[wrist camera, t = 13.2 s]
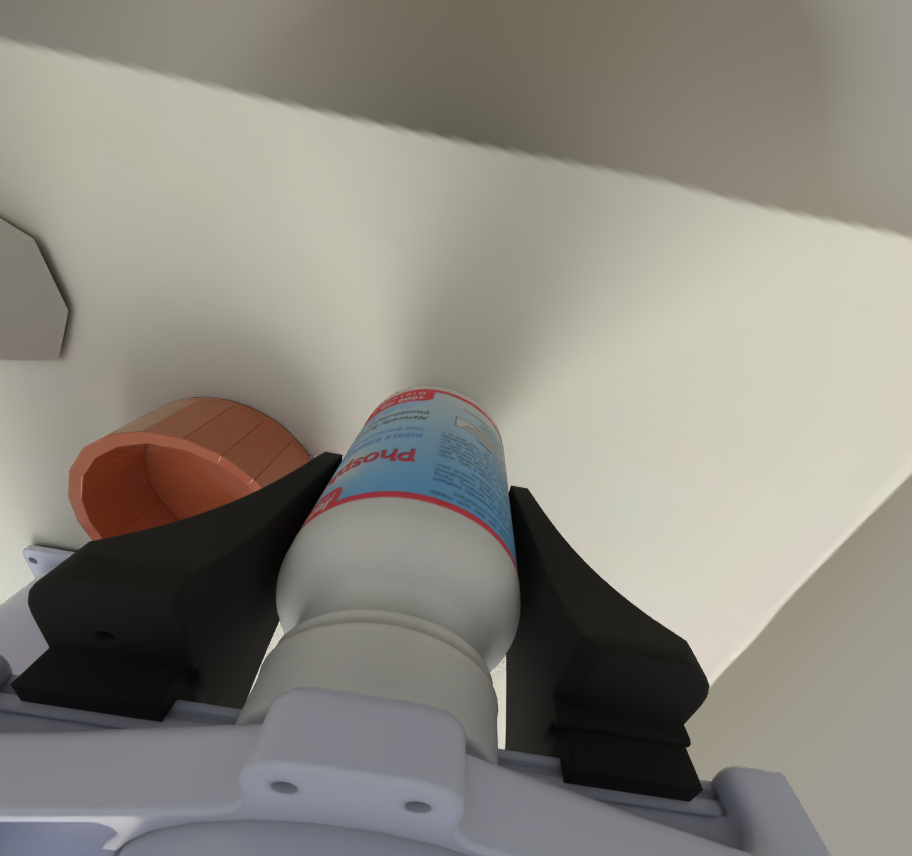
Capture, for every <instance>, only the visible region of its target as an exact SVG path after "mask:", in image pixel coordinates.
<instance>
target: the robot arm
mask: <svg viewBox="0 0 912 856" xmlns="http://www.w3.org/2000/svg"><path fill="white" fill-rule="evenodd" d="M341 462H342V455H340V454H334V453H329V452H324V453H323V454H321V455H319V456H317V457H316V458H314V459H313V460H311V461H309V462H308V463H306V464H304V465H303V466H301V467H299V468H298V469H296V470H294V471H293V472H291V473H289V474H287V475H286V476H284V477H282V478H280V479H278V480H277V481H275V482H273V483H271V484H269V485H267V486H265V487H263V488H261V489H259V490H257V491H255V492H253V493H251V494H249V495H247V496H245V497H242V498H240V499H238V500H235V501H233V502H230V503H228V504H226V505H223V506H220V507H218V508H215V509H212V510H209V511H206V512H203V513H200V514H198V515H195V516H192V517H189V518H186V519H182V520H179V521H175V522H172V523H169V524H165V525H161V526H157V527H154V528H150V529H146V530H142V531H137V532H133V533H128V534H123V535H119V536H114V537H109V538H104V539H100V540H94V541H90V542H88V543H87V544H86V545H84V546H83V547H82V548H80V549H79V550H78V551H76V552H71V551H65V550H59V549H53V548H47V547H42V546H36V545H30V546H28V547H27V548H25V549H24V550H23V555H24V557H25V559H26V561H27V563H28V565H29V567H30V569H31V570H32V572H33V574H34V576H35V578H36V579H35V580H33V581H32V582H31V583H29V584H28V585H27V586H25V587H24V588H23V589H21V590H20V591H19V592H17V593H16V594H15V595H13V596H12V597H11V598H9V599H8V600H7V601H5V602H4V603H3V604H1V605H0V856H831V854H830V853H829V851H828V849H827V848H826V846H825V844H824V842H823V841H822V839H821V838H820V836H819V834H818V832H817V830H816V829H815V827H814V825H813V824H812V822H811V820H810V818H809V817H808V815H807V813H806V812H805V810H804V808H803V806H802V805H801V803H800V801H799V800H798V798H797V796H796V795H795V793H794V791H793V789H792V788H791V786H790V784H789V783H788V781H787V779H786V778H785V776H784V775H783V774H781V773H779V772H773V771H766V770H760V769H754V768H747V767H740V766H739V767H738V766H732V767H727V768H724V769H722V770H721V771H719V772H718V773H717V774H716V775H715V776H714V778H713V779H712V781H705V780H699V778H698V776H697V774H696V771H695V769H694V766H693V764H692V762H691V759H690V757H689V755H688V752H687V750H686V747H689V746H690V744H691V742H690V738H689V736H688V733H687V731H686V729H685V727H684V724H685V723H686V722H687V720H688V719H689V718H690V717H691V716H692V715H693V714H694V713H695V712H696V711H697V710H698V708H699V707H700V706H701V705H702V704H703V702H704V700H705V699H706V697H707V695H708V690H709V683H708V681H707V678H706V676H705V674H704V672H703V670H702V668H701V666H700V665H699V663H698V661H697V659H696V657H695V655H694V653H693V652H692V650H691V648H690V646H689V645H688V643H687V641H685V640H684V639H682V638H681V637H679V636H678V635H676V634H675V633H673V632H672V631H670V630H669V629H667V628H666V627H664V626H663V625H661V624H660V623H658V622H657V621H655V620H654V619H652V618H651V617H650V616H648V615H647V614H645V613H644V612H643V611H641V610H640V609H639V608H637V607H636V606H635V605H633V604H632V603H631V602H630V601H628V600H627V599H626V598H625V597H623V596H622V595H621V594H620V593H618V592H617V591H616V590H615V589H614V588H613V587H611V586H610V585H609V584H608V583H607V582H606V581H605V580H603V579H602V578H601V577H600V576H599V575H598V574H597V573H596V572H595V571H594V570H593V569H592V568H591V567H590V566H589V565H588V564H587V563H586V562H585V561H584V560H583V559H582V558H581V557H580V556H579V555H578V554H577V553H576V552H575V551H574V550H573V548H572V547H571V546H570V545H569V544H568V542H567V541H566V540H565V539H564V538H563V537H562V535H561V534H560V533H559V532H558V530H557V529H556V528H555V526H554V525H553V524H552V522H551V521H550V520H549V518H548V517H547V516H546V514H545V513H544V511H543V510H542V509H541V507H540V506H539V504H538V503H537V501H536V500H535V498H534V497H533V496H532V494H531V493H530V491H529V490H528V489H527V488H522V487H516V486H511V488H510V491H509V500H510V509H511V517H512V526H513V534H514V542H515V550H516V559H517V568H518V577H519V586H520V603H521V606H520V619H519V624H518V628H517V631H516V635H515V638H514V640H513V642H512V644H511V646H510V648H509V650H508V651H507V653H506V744H505V750H503V749H498V765H496V764H493V763H490V762H487V761H484V760H482V759H479V758H476V757H473V756H470V755H467V754H466V736H465V729H464V726H463V724H462V723H461V722H460V721H459V720H458V719H456V718H455V717H454V716H453V715H452V714H450V713H449V712H448V711H447V710H443V709H440V708H437V707H434V706H431V705H427V704H422V703H416V702H409V701H403V700H397V699H390V698H384V697H378V696H371V695H365V694H359V693H352V692H346V691H339V690H333V689H327V688H320V687H296V688H294V689H291V690H289V691H286V692H284V693H282V694H280V695H278V696H276V697H274V700H273V702H272V704H271V706H270V709H269V711H268V713H267V715H266V718H265V720H264V722H263V724H249V725H235V723H236V721H237V719H238V717H239V715H240V713H241V711H242V709H243V707H244V705H245V703H246V700H247V698H248V695H249V693H250V690H251V687H252V685H253V682H254V680H255V677H256V675H257V673H258V670H259V668H260V665H261V663H262V660H263V658H264V655H265V653H266V651H267V648H268V646H269V643H270V641H271V639H272V637H273V634H274V632H275V630H276V627H277V625H278V623H279V616H278V612H277V605H276V587H277V579H278V575H279V571H280V568H281V565H282V562H283V560H284V557H285V555H286V553H287V551H288V550H289V548H290V546H291V545H292V543H293V541H294V539H295V537H296V535H297V534H298V532H299V531H300V529H301V527H302V526H303V524H304V522H305V521H306V519H307V517H308V516H309V514H310V513H311V511H312V510H313V508H314V506H315V504H316V503H317V501H318V499H319V498H320V496H321V494H322V493H323V491H324V489H325V488H326V486H327V485H328V483H329V482H330V480H331V478H332V477H333V475H334V473H335V472H336V470H337V468H338V467H339V465H340V464H341Z"/></svg>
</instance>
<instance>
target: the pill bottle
mask: <svg viewBox="0 0 912 856" xmlns="http://www.w3.org/2000/svg"><path fill="white" fill-rule="evenodd" d="M276 605H277V612H278V616H279V620H280V623H281V626H282V629H283V631H284V633H285V635H284V636H283V637H282V638H281V640H280V641H279V642H278V644H277V646H276V647H275V648H274V649H273V650H272V651H271V652H270V654H269V655H268V656H267V657H266V659H265V661H264V662H263V664H262V666H261V669H260V673H259V676H258V679H257V681H256V683H255V685H254V687H253V689H252V691H251V693H250V695H249V697H248V699H247V701H246V703H245V705H244V707H243V709H242V711H241V713H240V715H239V717H238V719H237V721H236V723H235V725H249V724H263V722H264V720H265V718H266V715H267V713H268V711H269V709H270V706H271V704H272V702H273V700H274V697H276V696H278V695H280V694H282V693H284V692H286V691H289V690H291V689H294V688H296V687H320V688H327V689H333V690H339V691H346V692H352V693H359V694H365V695H371V696H378V697H384V698H390V699H397V700H403V701H409V702H416V703H422V704H427V705H431V706H434V707H437V708H440V709H443V710H447V711H448V712H449V713H450V714H452V715H453V716H454V717H455V718H456V719H458V720H459V721H460V722H461V723H462V724H463V726H464V729H465V736H466V754H467V755H470V756H473V757H476V758H479V759H482V760H484V761H487V762H490V763H493V764H496V765H498V739H497V715H498V702H497V696H496V693H495V690H494V688H493V682H492V678H491V675H490V672H491V671H492V670H493V669H494V668H495V667H496V666H497V665H498V664H499V662H500V661H501V660H502V659H503V657H504V656H505V655H506V653H507V651H508V650H509V648H510V646H511V644H512V642H513V640H514V638H515V635H516V631H517V628H518V624H519V619H520V606H521V603H520V586H519V577H518V568H517V559H516V550H515V542H514V534H513V526H512V517H511V509H510V500H509V492H508V484H507V474H506V466H505V458H504V449H503V444H502V439H501V435H500V432H499V430H498V427H497V425H496V424H495V422H494V420H493V419H492V417H491V416H490V415H489V414H488V413H487V412H486V411H485V409H484V408H482V407H481V406H480V405H479V404H477V403H476V402H475V401H473V400H472V399H470V398H468V397H466V396H465V395H463V394H460V393H458V392H456V391H453V390H450V389H447V388H443V387H437V386H417V387H412V388H408V389H404V390H402V391H399V392H397V393H395V394H393V395H392V396H390V397H388V398H387V399H386V400H384V401H383V402H382V403H381V404H380V405H379V406H378V407H377V408H376V409H375V410H374V412H373V413H372V414H371V416H370V417H369V419H368V420H367V422H366V423H365V425H364V427H363V428H362V430H361V432H360V433H359V435H358V436H357V438H356V439H355V441H354V443H353V444H352V445H351V447H350V449H349V451H348V452H347V454H346V456H345V457H344V459H343V461H342V462H341V464H340V465H339V467H338V468H337V470H336V472H335V473H334V475H333V477H332V478H331V480H330V482H329V483H328V485H327V486H326V488H325V489H324V491H323V493H322V494H321V496H320V498H319V499H318V501H317V503H316V504H315V506H314V508H313V510H312V511H311V513H310V514H309V516H308V517H307V519H306V521H305V522H304V524H303V526H302V527H301V529H300V531H299V532H298V534H297V535H296V537H295V539H294V541H293V543H292V545H291V546H290V548H289V550H288V551H287V553H286V555H285V557H284V560H283V562H282V565H281V568H280V571H279V575H278V579H277V587H276Z"/></svg>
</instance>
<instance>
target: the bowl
mask: <svg viewBox="0 0 912 856" xmlns="http://www.w3.org/2000/svg"><path fill="white" fill-rule="evenodd" d="M309 461H311V458H310V457H309V455H308V454H307V452H306V451H305V449H304V448H303V447H302V446H301V444H300V443H299V442H298V441H297V440H296V439H295V438H294V437H293V436H292V435H291V434H290V433H289V432H288V431H287V430H286V429H285V428H283V427H282V426H281V425H279V424H278V423H277V422H275V421H274V420H272V419H271V418H269V417H267V416H266V415H264V414H262V413H260V412H258V411H256V410H254V409H252V408H250V407H248V406H245V405H242V404H239V403H236V402H232V401H228V400H224V399H218V398H210V397H195V398H187V399H182V400H179V401H175V402H172V403H169V404H167V405H165V406H163V407H161V408H159V409H157V410H155V411H153V412H151V413H149V414H147V415H145V416H143V417H141V418H139V419H137V420H135V421H133V422H132V423H130V424H128V425H126V426H124V427H122V428H120V429H118V430H116V431H114V432H112V433H110V434H108V435H106V436H104V437H102V438H100V439H99V440H97V441H95V442H93V443H91V444H89V445H87V446H85V447H84V448H83V449H82V450H81V452H80V453H79V455H78V457H77V458H76V460H75V461H74V463H73V465H72V466H71V468H70V470H69V483H68V498H69V500H70V503H71V505H72V508H73V511H74V513H75V516H76V518H77V521H78V522H79V524H80V525H81V526H82V528H83V529H84V530H85V532H86V533H87V534H88V536H89V537H90V538H91V539H92V541H94V540H100V539H104V538H109V537H114V536H119V535H123V534H128V533H133V532H137V531H142V530H146V529H150V528H154V527H157V526H161V525H165V524H169V523H172V522H175V521H179V520H182V519H186V518H189V517H192V516H195V515H198V514H200V513H203V512H206V511H209V510H212V509H215V508H218V507H220V506H223V505H226V504H228V503H230V502H233V501H235V500H238V499H240V498H242V497H245V496H247V495H249V494H251V493H253V492H255V491H257V490H259V489H261V488H263V487H265V486H267V485H269V484H271V483H273V482H275V481H277V480H278V479H280V478H282V477H284V476H286V475H287V474H289V473H291V472H293V471H294V470H296V469H298V468H299V467H301V466H303V465H304V464H306V463H308V462H309Z"/></svg>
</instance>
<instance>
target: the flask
mask: <svg viewBox="0 0 912 856" xmlns="http://www.w3.org/2000/svg"><path fill="white" fill-rule="evenodd" d="M67 315H68V309H67V307H66V305H65V303H64V301H63V298H62V296H61V294H60V292H59V290H58V288H57V286H56V284H55V282H54V280H53V278H52V275H51V273H50V271H49V269H48V267H47V265H46V263H45V261H44V259H43V257H42V255H41V252H40V250H39V248H38V246H37V244H36V242H35V240H34V239H33V238H31V237H30V236H28V235H27V234H25V233H23V232H22V231H20V230H18V229H17V228H15V227H14V226H12V225H10V224H9V223H7V222H6V221H4V220H2V219H1V218H0V360H59V356H60V351H61V346H62V341H63V336H64V331H65V326H66V321H67Z"/></svg>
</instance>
